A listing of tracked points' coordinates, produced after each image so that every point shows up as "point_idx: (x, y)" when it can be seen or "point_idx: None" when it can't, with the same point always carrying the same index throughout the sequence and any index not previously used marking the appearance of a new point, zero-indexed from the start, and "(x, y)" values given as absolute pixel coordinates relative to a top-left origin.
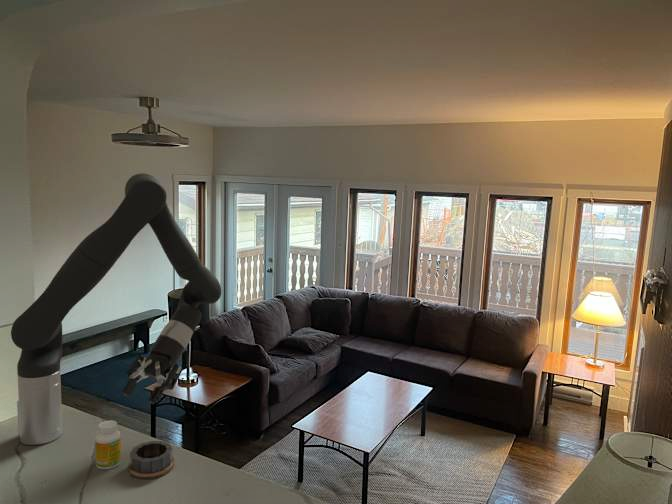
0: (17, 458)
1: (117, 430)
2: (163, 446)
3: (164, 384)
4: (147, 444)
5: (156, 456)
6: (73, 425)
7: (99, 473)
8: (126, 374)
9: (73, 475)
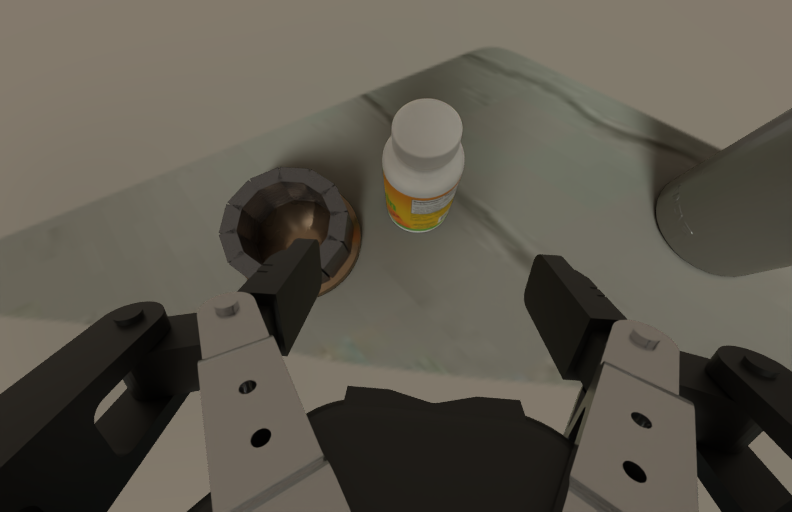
0: (633, 129)
1: (409, 177)
2: None
3: (158, 309)
4: (321, 245)
5: None
6: (715, 318)
7: None
8: (738, 347)
9: None
